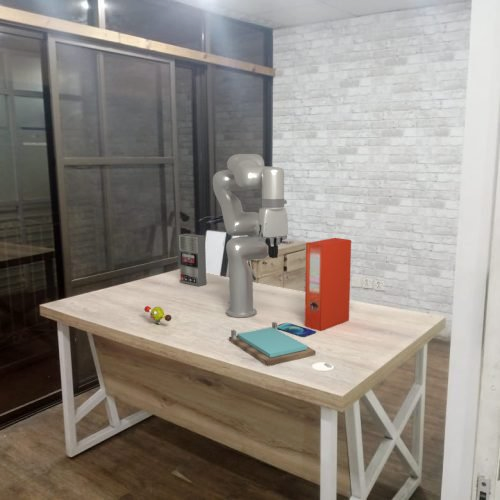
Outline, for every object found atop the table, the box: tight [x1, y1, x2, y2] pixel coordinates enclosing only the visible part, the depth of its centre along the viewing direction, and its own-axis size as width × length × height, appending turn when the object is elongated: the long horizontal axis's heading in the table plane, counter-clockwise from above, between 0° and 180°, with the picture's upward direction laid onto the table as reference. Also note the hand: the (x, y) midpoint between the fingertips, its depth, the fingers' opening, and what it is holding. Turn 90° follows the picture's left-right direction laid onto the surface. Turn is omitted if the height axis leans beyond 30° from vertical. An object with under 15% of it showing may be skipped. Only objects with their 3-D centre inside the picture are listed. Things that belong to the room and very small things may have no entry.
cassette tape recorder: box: [178, 233, 208, 287], centre depth 265 cm, size 14×6×25 cm, turn 50°
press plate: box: [236, 326, 308, 358], centre depth 175 cm, size 23×14×1 cm, turn 29°
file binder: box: [304, 237, 352, 332], centre depth 197 cm, size 8×17×32 cm, turn 134°
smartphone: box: [277, 322, 317, 338], centre depth 193 cm, size 8×1×15 cm
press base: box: [228, 321, 316, 367], centre depth 175 cm, size 26×18×4 cm
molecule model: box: [144, 305, 172, 326], centre depth 202 cm, size 18×6×7 cm, turn 40°
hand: (273, 257), depth 180 cm, fingers closed
